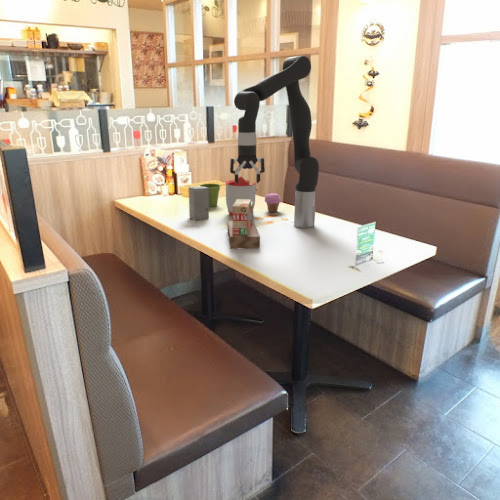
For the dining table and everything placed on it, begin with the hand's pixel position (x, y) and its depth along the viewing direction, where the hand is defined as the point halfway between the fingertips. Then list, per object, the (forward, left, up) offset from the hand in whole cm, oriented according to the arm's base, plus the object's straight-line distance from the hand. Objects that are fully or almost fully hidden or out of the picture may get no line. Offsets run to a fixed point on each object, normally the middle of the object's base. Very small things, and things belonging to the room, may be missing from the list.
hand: (247, 183), depth 188 cm
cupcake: (-18, -46, -24) cm, 55 cm away
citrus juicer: (-1, -40, -24) cm, 47 cm away
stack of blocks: (+2, +2, -19) cm, 19 cm away
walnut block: (+2, +2, -24) cm, 24 cm away
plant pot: (+15, -61, -24) cm, 67 cm away
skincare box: (+21, -34, -24) cm, 47 cm away
